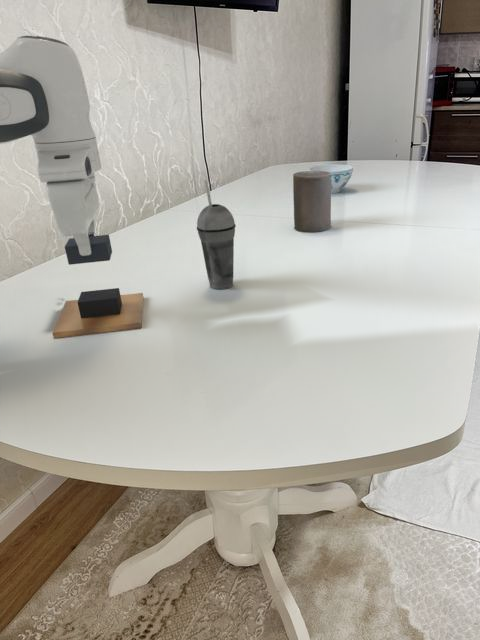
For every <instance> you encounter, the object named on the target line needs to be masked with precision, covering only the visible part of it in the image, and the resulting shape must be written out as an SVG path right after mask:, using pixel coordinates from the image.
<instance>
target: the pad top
mask: <svg viewBox="0 0 480 640" xmlns="http://www.w3.org/2000/svg"><path fill="white" fill-rule="evenodd" d="M89 241H90V242H91V247H92V252H91V254H90V255H85V256H82V255H80V253H79V249H78V245H77V243H76V241H75V239H74V237H72V238H68V240H67V242H66V243H65V245H64V252H65V253H66V254H65V255H66V258H67V263H68V266H71V265H81V264H89V263H98V262H99V263H101V262H109V261H110V260H111V257H112V255H113V249H112V244H111V238H110V234H101V235H96V236H90V237H89Z"/></svg>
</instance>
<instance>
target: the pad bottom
mask: <svg viewBox="0 0 480 640" xmlns="http://www.w3.org/2000/svg"><path fill="white" fill-rule="evenodd" d="M120 291H121V290H120V288H119V287H115V288H105V289H96V290H95V289H94V290H87V291H81V292H80V294H79V297H78V299H77V300H78V302H77V303H78V307H79V312H80V316H81V319H82V318H91V317H100V316H108V315H117V314H120V312H121V306H122V301H121V296H120V295H121V292H120Z"/></svg>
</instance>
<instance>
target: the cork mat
mask: <svg viewBox="0 0 480 640" xmlns="http://www.w3.org/2000/svg"><path fill="white" fill-rule="evenodd" d="M120 296H121V301H122V306H121V312H120V314H117V315H108V316H100V317H91V318H82V319H81V316H80V312H79V307H78V303H77V302H78V300H79V299H73V300H72V299H71V300H66V301H65V302H64V304H63V307H62V309H61V311H60V313H59V315H58V318H57V321H56V322H55V323H56V324H55V326H54V327H53V330H52V337H53V339H59V338H67V337H76V336H85V335H95V334H102V333H111V332H118V331H119V332H120V331H128V330H136V329H142V325H143V312H144V311H143V309H144V298H145V297H144V293H143V292H136V293H127V294H120Z"/></svg>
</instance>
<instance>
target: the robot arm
mask: <svg viewBox="0 0 480 640" xmlns="http://www.w3.org/2000/svg"><path fill="white" fill-rule="evenodd" d="M79 60H80V59H79V58H78V56H77V54H76V52H75V50H74V49H73V48H72V47H71V46H70V45H69V44H68V43H66V42H64V41H62V40H60V39H56V38H52V37H46V36H39V35H21V36H18V37H16V38H15V40H14V42H13V43H11V45H9V46H8V47H7V48H6V49H5V50H3V51H1V52H0V145H5V144H10V143H12V142H16V141H17V140H19V139H23V138H26V137H28V136H31V137H32V139H33V142H34V147H35V150H36V155H37V161H38V163H37V174H38V177H39V181H40V183H46V184H45V186H46V187H45V188H46V192H47V196H48V197H47V198H48V200H49V203H50V207H51V209H52V214H53V216H54V219H55V222H56V225H57V228H58V230H59V232H60V234H61V235H62V236H64V237H70V236H71V237H72V238H74V239H75V241H76V243H77V245H78V249H79V253H80V255H82V256H85V255H90V254H91V252H92V247H91V242H90V241H89V237H90V236H97V235H96V229H95V228H96V227H95V216H96V214H97V211H98V209H99V207H100V201H99V195H98V191H97V186H96V176H95V173H96V172H99V171H101V170H102V163H101V157H100V152H99V147H98V140H97V136H96V132H95V131H94V129H93V126H92V123H91V118H90V111H91V110H90V108H91V104H90V98H89V94H88V90H87V89H88V88H87V85H86V82H85V76H84V74H83V70H82V66H81V63H80V61H79Z"/></svg>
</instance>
